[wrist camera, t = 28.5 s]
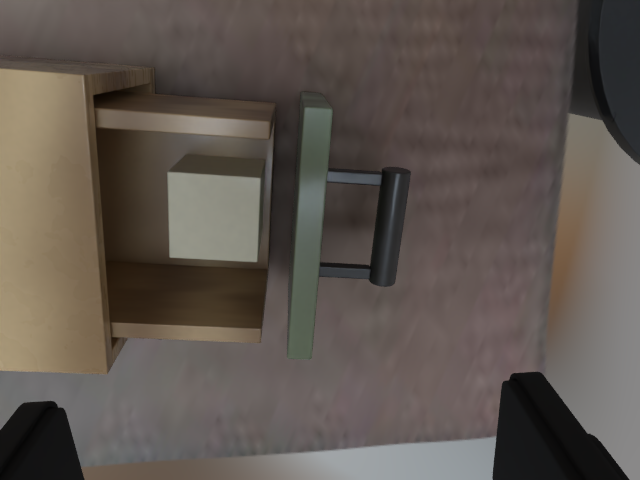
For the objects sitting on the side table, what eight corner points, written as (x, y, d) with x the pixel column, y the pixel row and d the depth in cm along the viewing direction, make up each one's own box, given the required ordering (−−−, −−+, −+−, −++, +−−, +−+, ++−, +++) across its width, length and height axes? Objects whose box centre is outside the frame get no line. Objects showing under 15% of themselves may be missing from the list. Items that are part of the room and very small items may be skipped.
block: (265, 159, 28) (261, 177, 24) (262, 233, 29) (257, 262, 25) (185, 154, 28) (166, 171, 24) (186, 229, 29) (168, 258, 25)
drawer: (397, 99, 28) (437, 116, 20) (373, 289, 32) (399, 363, 25) (72, 73, 27) (-18, 81, 19) (89, 275, 31) (21, 349, 23)
